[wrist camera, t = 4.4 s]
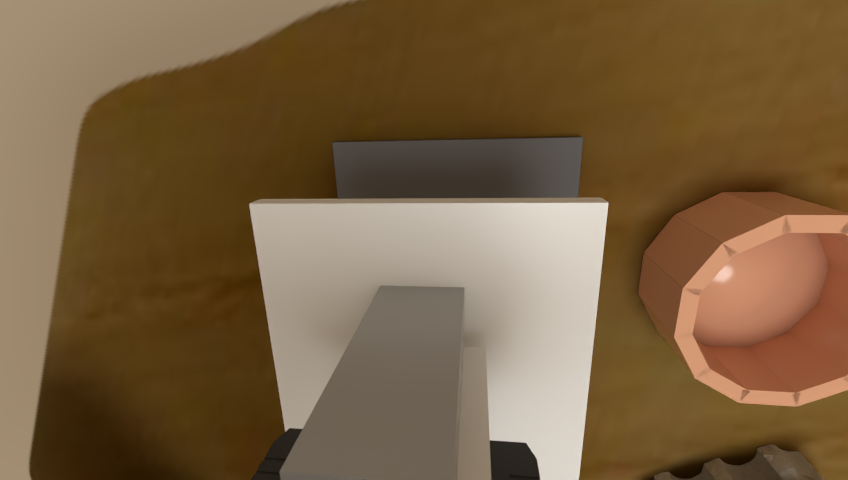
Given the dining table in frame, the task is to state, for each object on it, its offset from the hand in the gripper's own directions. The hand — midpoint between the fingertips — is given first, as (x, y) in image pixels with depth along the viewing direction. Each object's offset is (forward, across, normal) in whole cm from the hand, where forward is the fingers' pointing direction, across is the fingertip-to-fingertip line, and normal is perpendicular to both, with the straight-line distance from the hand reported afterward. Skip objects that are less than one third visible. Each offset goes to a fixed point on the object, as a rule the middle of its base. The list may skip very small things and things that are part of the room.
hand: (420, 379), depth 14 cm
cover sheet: (+2, 0, 0) cm, 2 cm away
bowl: (+12, -17, +1) cm, 20 cm away
